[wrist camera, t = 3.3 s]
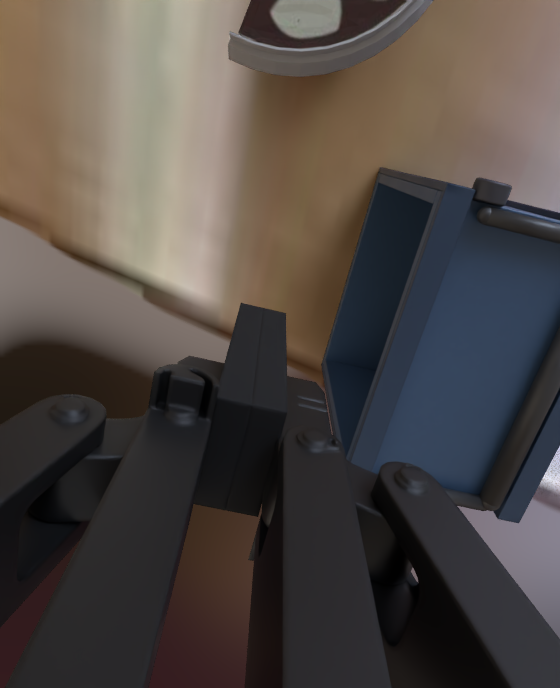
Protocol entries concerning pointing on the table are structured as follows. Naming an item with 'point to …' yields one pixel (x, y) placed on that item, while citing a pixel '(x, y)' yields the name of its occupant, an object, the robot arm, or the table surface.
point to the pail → (451, 340)
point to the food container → (319, 33)
